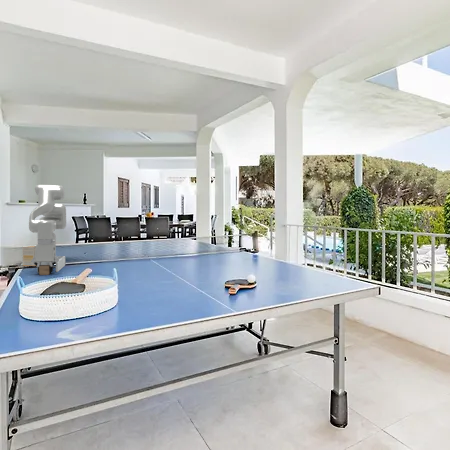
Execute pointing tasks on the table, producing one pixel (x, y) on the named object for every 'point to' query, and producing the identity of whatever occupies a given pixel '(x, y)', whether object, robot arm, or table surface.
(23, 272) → the table surface
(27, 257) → the supplement box
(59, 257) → the frosted channel
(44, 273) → the walnut block
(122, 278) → the table surface
